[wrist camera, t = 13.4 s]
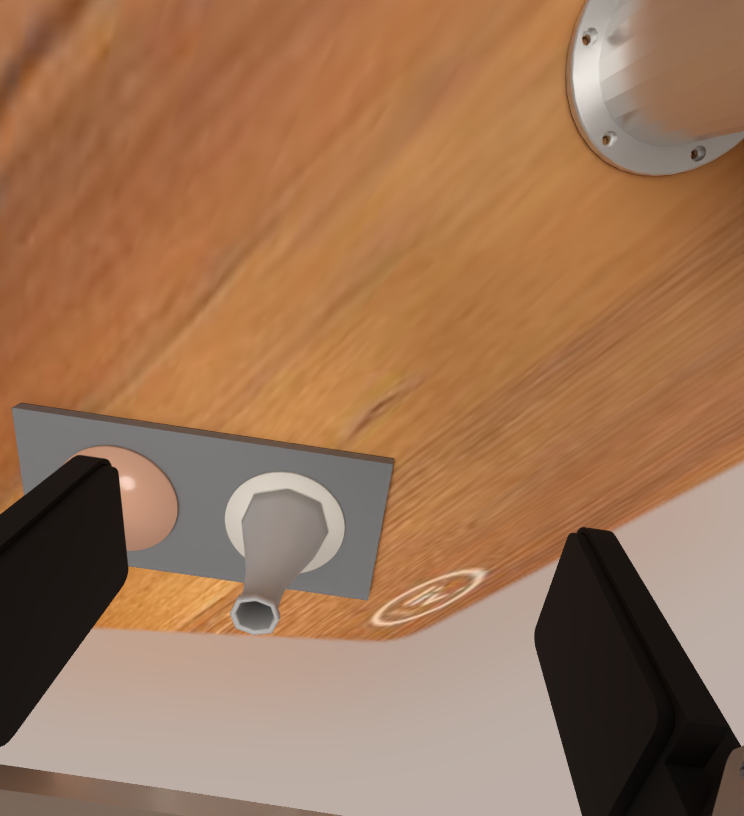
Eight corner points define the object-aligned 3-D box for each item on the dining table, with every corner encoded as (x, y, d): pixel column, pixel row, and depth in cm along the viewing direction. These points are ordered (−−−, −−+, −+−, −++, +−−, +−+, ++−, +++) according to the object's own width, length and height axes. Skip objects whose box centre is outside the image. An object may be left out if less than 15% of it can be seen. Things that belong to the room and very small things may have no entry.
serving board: (393, 458, 40) (393, 464, 39) (368, 592, 45) (367, 600, 44) (20, 402, 39) (11, 407, 38) (39, 545, 44) (32, 552, 44)
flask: (333, 493, 40) (315, 580, 30) (324, 564, 42) (305, 664, 33) (243, 481, 39) (198, 565, 30) (240, 553, 42) (198, 651, 33)
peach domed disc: (178, 454, 39) (176, 457, 39) (178, 555, 43) (177, 558, 43) (53, 436, 39) (49, 438, 39) (64, 538, 43) (61, 541, 42)
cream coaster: (352, 480, 40) (351, 483, 39) (337, 578, 43) (336, 581, 43) (228, 462, 39) (226, 464, 39) (224, 561, 43) (222, 564, 43)
